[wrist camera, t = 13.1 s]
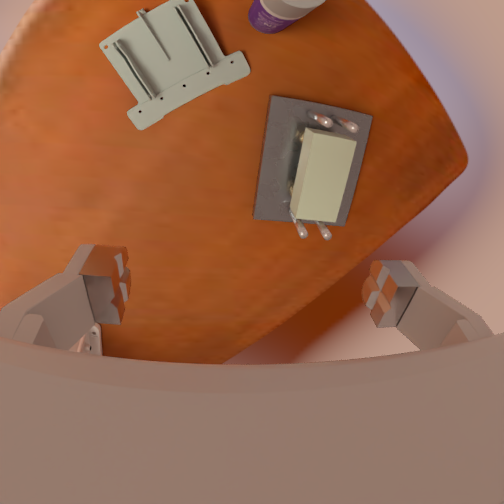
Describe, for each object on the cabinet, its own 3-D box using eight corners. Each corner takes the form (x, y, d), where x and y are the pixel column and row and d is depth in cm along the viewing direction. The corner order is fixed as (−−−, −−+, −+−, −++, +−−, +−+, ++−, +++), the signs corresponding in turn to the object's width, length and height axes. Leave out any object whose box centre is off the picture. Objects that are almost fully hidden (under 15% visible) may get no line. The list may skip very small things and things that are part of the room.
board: (327, 210, 38) (335, 222, 35) (289, 206, 37) (295, 218, 34) (345, 135, 32) (356, 141, 30) (305, 127, 32) (313, 132, 29)
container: (247, 33, 28) (267, 6, 15) (248, -2, 25) (268, -46, 13) (288, 35, 28) (332, 14, 16) (288, 1, 26) (332, -37, 13)
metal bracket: (75, 52, 22) (203, -24, 20) (89, 44, 26) (199, -20, 23) (143, 143, 33) (258, 83, 30) (146, 124, 36) (247, 71, 34)
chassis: (340, 221, 43) (360, 249, 37) (252, 214, 41) (259, 243, 35) (367, 114, 34) (396, 125, 28) (269, 94, 32) (282, 100, 26)
